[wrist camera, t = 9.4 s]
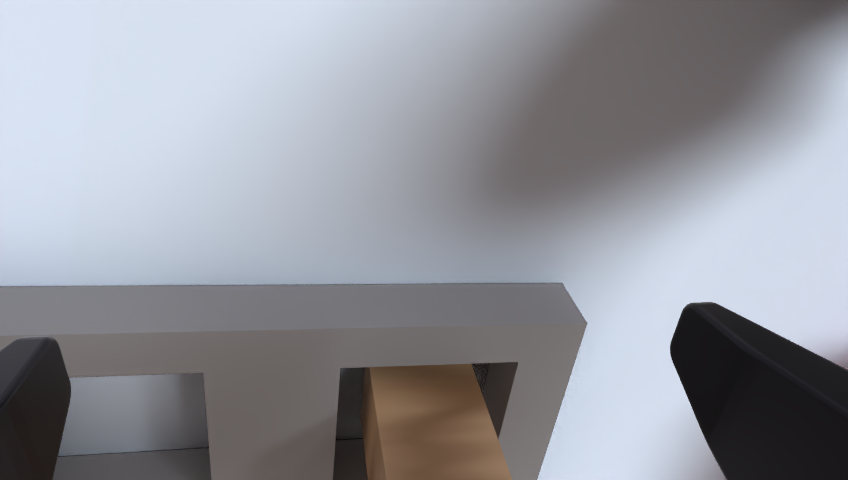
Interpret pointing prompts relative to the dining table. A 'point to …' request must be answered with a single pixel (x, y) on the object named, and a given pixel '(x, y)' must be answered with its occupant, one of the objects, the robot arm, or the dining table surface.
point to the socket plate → (303, 363)
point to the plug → (428, 425)
